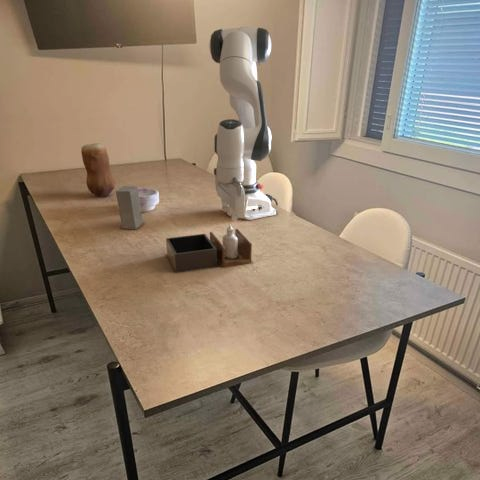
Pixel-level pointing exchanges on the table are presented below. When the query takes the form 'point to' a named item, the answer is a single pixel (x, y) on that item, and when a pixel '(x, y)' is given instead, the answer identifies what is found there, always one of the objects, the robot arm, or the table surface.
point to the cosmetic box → (129, 207)
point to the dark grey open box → (191, 252)
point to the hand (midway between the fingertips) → (229, 215)
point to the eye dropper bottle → (230, 244)
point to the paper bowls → (148, 199)
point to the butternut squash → (97, 170)
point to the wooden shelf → (243, 248)
